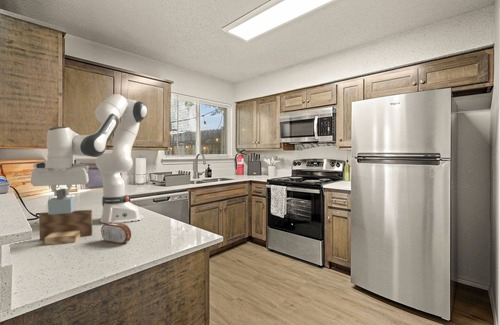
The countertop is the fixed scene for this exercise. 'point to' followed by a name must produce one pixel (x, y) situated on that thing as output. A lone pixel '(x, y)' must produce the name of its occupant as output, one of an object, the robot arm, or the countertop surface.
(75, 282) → the countertop surface
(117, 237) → the tin
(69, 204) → the blue block with handle
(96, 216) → the countertop surface
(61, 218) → the brown wooden piece
